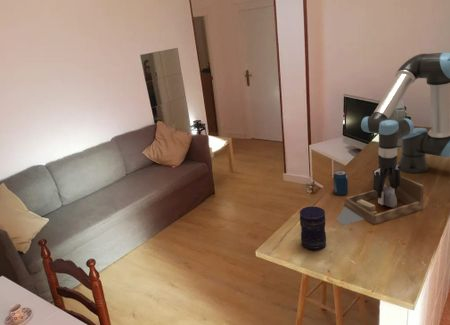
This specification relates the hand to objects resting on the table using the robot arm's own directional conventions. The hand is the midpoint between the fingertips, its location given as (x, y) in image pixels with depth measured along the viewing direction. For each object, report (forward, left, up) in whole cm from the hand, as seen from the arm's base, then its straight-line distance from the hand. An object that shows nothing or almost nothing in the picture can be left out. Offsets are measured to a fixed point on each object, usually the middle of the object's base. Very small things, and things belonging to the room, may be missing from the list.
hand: (386, 202), depth 160 cm
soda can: (+9, -22, -2) cm, 24 cm away
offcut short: (+12, +1, 0) cm, 12 cm away
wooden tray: (+2, 0, -2) cm, 3 cm away
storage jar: (+45, +11, -2) cm, 46 cm away
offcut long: (+12, +1, -3) cm, 12 cm away
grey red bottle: (-68, -68, -2) cm, 96 cm away
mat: (+21, -3, -2) cm, 21 cm away
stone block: (0, 0, -2) cm, 2 cm away
